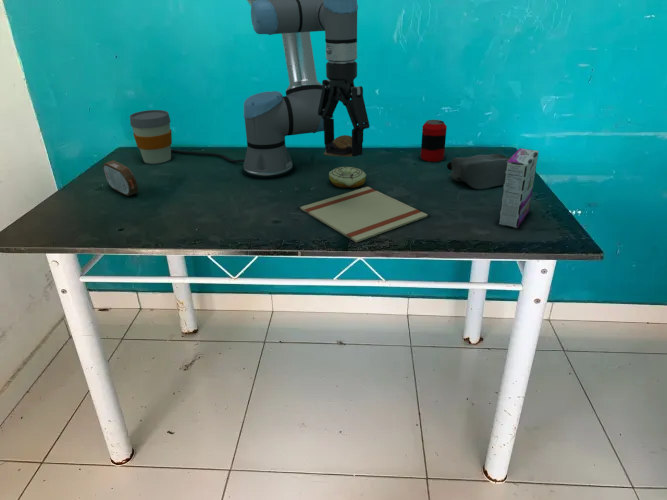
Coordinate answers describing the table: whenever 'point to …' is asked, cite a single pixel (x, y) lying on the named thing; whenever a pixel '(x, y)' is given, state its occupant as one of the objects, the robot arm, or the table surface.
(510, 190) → the candy bar box
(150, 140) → the reusable coffee cup
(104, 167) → the tin
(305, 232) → the table surface
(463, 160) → the gray bottle
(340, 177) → the decorated donut
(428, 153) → the soda can
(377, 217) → the towel
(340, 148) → the bread roll
